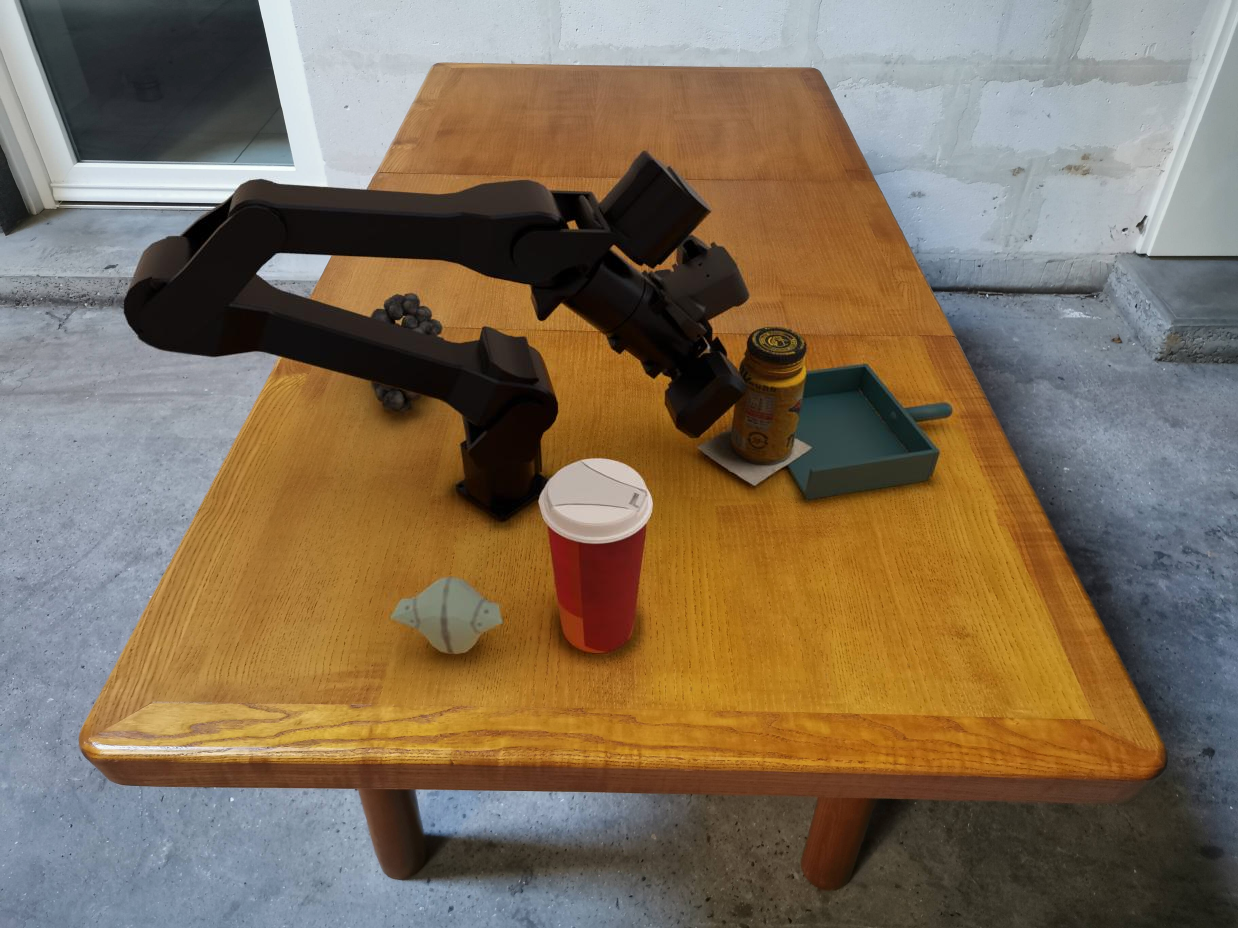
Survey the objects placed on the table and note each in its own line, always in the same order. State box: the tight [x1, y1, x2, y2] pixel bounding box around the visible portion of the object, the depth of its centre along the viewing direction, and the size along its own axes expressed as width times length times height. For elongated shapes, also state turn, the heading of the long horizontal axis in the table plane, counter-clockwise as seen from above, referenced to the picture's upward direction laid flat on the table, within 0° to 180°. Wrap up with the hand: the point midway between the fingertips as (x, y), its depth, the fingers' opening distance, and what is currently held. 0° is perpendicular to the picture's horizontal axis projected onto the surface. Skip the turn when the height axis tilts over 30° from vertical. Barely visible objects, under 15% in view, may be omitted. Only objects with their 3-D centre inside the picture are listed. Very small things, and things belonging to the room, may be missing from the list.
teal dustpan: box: [785, 362, 954, 501], centre depth 86 cm, size 18×15×3 cm
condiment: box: [696, 326, 812, 487], centre depth 81 cm, size 7×8×12 cm
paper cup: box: [538, 457, 654, 654], centre depth 64 cm, size 8×8×14 cm
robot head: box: [390, 576, 503, 655], centre depth 64 cm, size 8×4×7 cm, turn 87°
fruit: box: [369, 292, 445, 414], centre depth 90 cm, size 9×8×15 cm
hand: (739, 394), depth 80 cm, fingers closed, pressing on condiment
